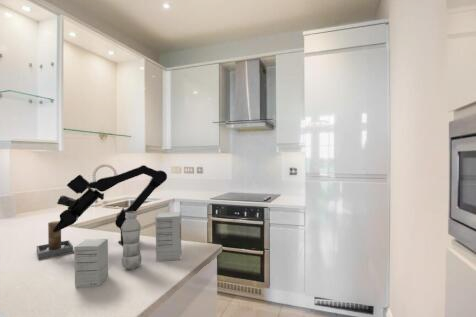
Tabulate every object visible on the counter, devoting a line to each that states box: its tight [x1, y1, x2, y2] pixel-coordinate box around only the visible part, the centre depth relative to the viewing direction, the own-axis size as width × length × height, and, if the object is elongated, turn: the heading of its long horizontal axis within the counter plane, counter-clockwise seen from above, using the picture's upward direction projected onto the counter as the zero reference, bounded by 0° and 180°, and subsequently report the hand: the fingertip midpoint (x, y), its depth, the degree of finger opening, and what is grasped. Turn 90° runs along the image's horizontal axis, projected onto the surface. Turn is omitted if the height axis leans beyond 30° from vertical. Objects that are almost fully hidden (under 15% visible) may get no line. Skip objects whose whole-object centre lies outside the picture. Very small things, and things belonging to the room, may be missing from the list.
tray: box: [36, 239, 74, 260], centre depth 109 cm, size 12×12×2 cm
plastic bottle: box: [120, 211, 142, 270], centre depth 92 cm, size 6×7×20 cm
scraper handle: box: [44, 220, 65, 252], centre depth 109 cm, size 6×6×12 cm
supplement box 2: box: [155, 211, 182, 262], centre depth 103 cm, size 10×9×17 cm
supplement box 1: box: [73, 238, 109, 288], centre depth 82 cm, size 7×7×13 cm
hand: (56, 228), depth 109 cm, fingers open, 9 cm apart
